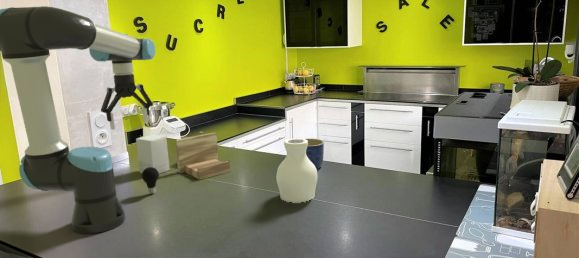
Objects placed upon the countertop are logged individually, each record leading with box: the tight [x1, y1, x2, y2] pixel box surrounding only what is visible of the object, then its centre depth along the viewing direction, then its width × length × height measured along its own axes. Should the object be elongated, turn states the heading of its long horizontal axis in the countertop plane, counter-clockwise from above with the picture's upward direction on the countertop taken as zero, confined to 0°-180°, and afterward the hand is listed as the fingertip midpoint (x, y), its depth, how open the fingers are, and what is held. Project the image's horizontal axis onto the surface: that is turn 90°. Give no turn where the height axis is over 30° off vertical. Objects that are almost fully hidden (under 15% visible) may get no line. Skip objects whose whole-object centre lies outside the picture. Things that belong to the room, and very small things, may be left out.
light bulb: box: [141, 167, 160, 195], centre depth 155 cm, size 6×6×10 cm
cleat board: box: [175, 132, 231, 180], centre depth 179 cm, size 15×18×14 cm
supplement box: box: [135, 134, 170, 175], centre depth 181 cm, size 9×9×15 cm
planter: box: [305, 138, 325, 170], centre depth 181 cm, size 12×12×11 cm
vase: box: [275, 137, 318, 204], centre depth 147 cm, size 14×14×20 cm
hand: (129, 126), depth 175 cm, fingers open, 13 cm apart
